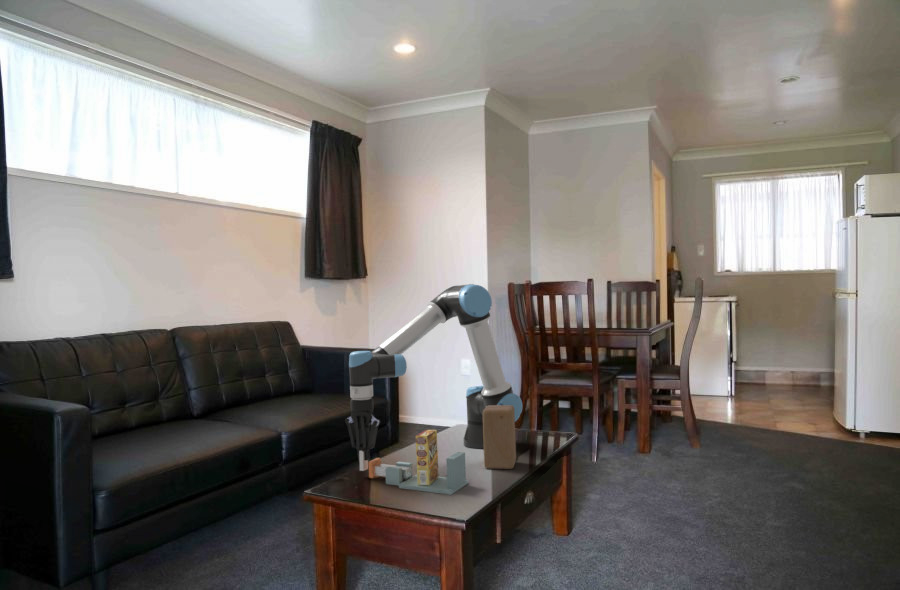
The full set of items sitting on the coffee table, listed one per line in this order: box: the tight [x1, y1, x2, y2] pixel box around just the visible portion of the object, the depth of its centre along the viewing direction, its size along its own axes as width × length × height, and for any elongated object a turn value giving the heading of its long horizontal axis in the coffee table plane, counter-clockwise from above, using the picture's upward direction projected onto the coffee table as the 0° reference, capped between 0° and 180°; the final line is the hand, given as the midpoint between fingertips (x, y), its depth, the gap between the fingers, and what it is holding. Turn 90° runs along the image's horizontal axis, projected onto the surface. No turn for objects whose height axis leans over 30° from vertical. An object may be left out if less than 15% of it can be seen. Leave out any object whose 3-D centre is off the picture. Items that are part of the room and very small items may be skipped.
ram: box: [368, 457, 411, 480], centre depth 194 cm, size 5×13×5 cm, turn 63°
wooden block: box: [483, 405, 517, 470], centre depth 207 cm, size 10×10×20 cm
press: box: [385, 451, 469, 495], centre depth 188 cm, size 12×24×10 cm, turn 63°
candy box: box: [415, 429, 440, 486], centre depth 188 cm, size 9×4×15 cm, turn 162°
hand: (364, 469), depth 199 cm, fingers closed
